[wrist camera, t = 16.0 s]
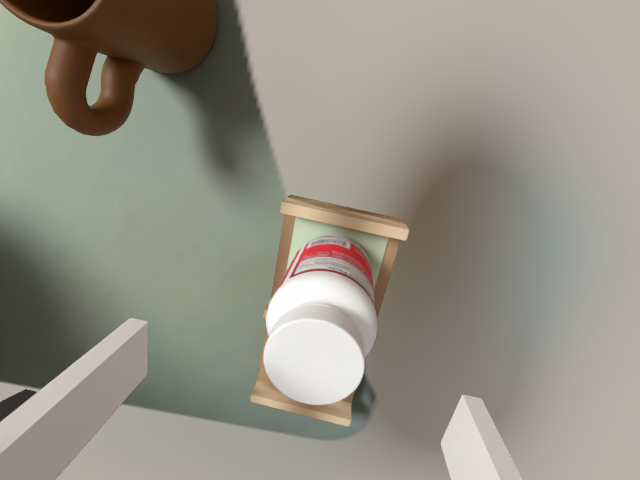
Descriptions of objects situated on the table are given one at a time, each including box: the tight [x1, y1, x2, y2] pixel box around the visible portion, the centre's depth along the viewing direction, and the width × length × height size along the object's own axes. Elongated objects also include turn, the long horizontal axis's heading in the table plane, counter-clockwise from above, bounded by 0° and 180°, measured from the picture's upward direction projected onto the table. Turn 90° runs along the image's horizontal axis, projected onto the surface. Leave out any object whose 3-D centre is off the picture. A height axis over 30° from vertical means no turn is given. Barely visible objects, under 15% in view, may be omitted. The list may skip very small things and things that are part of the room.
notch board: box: [250, 195, 409, 427], centre depth 25 cm, size 9×18×3 cm, turn 169°
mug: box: [0, 0, 217, 136], centre depth 18 cm, size 12×8×9 cm, turn 168°
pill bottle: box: [263, 234, 377, 405], centre depth 19 cm, size 6×6×11 cm
